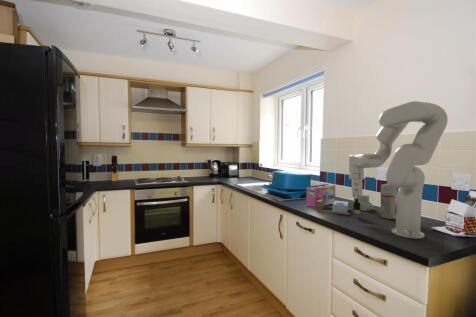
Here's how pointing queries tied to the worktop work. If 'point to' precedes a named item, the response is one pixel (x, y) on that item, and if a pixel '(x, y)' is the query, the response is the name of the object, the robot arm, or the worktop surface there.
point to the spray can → (388, 201)
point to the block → (340, 206)
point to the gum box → (320, 194)
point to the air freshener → (365, 203)
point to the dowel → (357, 210)
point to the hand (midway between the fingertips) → (356, 208)
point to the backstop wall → (320, 204)
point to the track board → (334, 211)
